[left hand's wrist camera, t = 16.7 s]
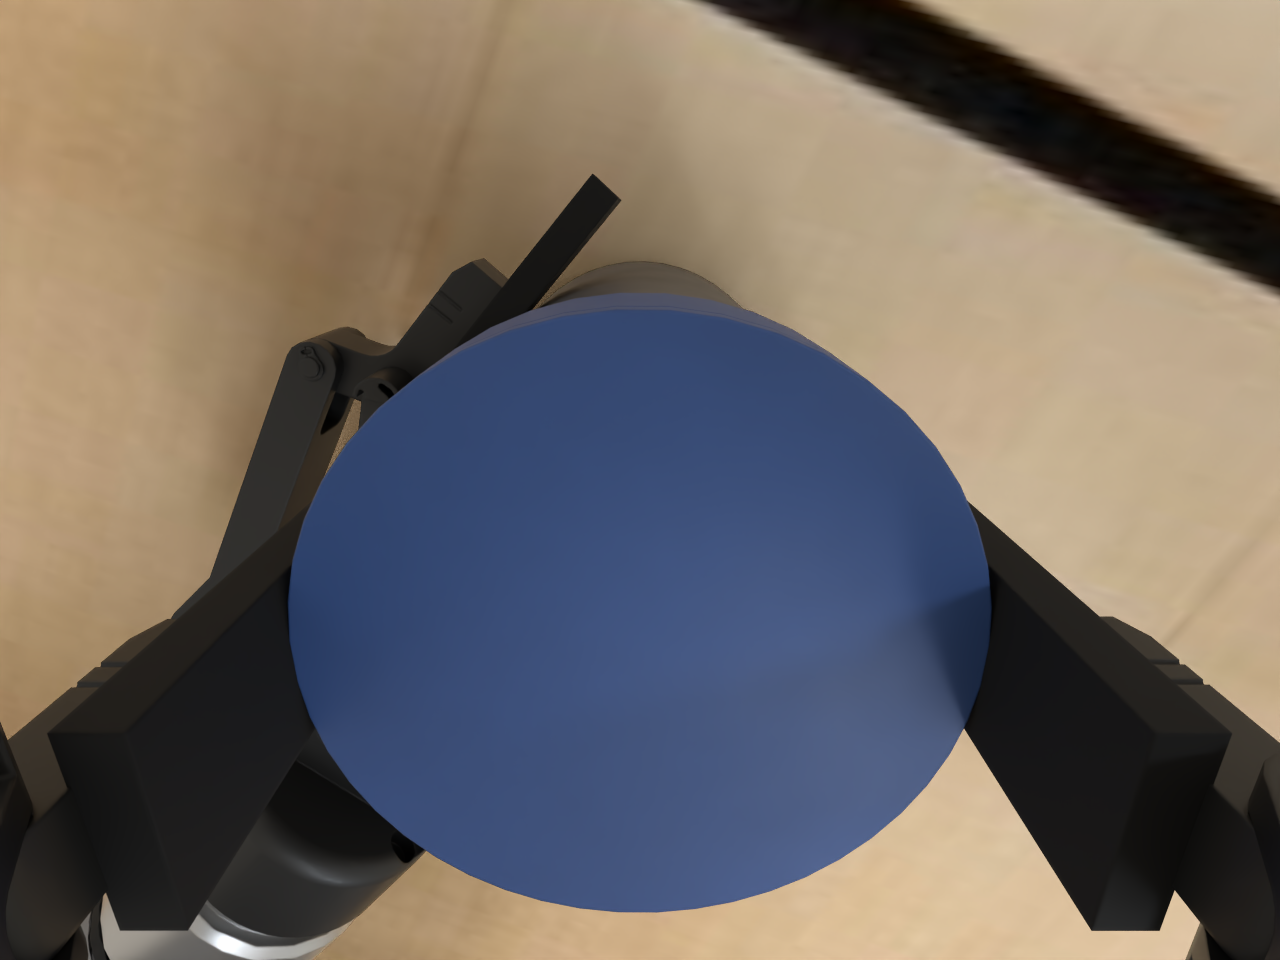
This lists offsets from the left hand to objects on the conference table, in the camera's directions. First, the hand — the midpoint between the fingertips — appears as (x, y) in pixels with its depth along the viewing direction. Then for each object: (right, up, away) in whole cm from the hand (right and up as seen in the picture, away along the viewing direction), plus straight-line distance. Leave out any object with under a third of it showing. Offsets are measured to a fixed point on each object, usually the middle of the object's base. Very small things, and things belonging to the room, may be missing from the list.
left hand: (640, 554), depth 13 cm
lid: (0, -1, -3) cm, 3 cm away
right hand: (+3, +5, +5) cm, 8 cm away
